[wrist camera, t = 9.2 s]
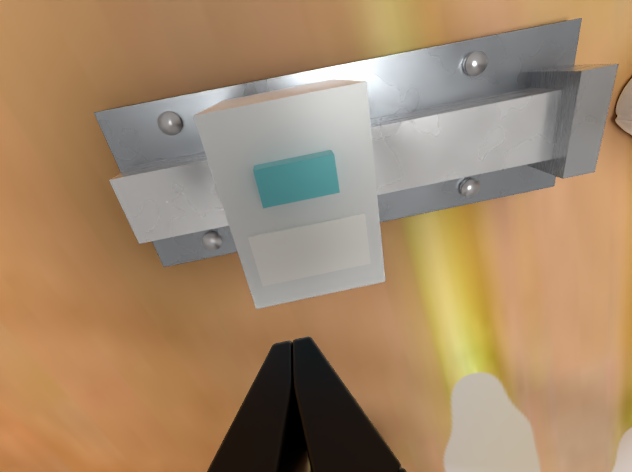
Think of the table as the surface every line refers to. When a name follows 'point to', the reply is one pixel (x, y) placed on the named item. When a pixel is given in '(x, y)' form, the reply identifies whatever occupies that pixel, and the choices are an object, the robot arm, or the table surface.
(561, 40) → the rail panel
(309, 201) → the module
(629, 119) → the photo printer
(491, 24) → the table surface
